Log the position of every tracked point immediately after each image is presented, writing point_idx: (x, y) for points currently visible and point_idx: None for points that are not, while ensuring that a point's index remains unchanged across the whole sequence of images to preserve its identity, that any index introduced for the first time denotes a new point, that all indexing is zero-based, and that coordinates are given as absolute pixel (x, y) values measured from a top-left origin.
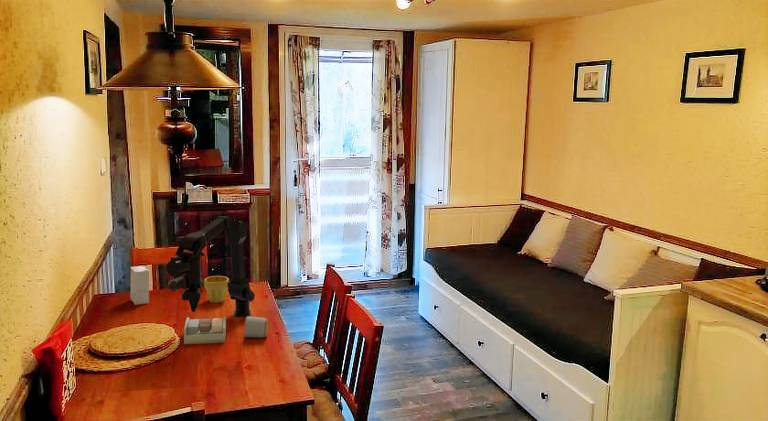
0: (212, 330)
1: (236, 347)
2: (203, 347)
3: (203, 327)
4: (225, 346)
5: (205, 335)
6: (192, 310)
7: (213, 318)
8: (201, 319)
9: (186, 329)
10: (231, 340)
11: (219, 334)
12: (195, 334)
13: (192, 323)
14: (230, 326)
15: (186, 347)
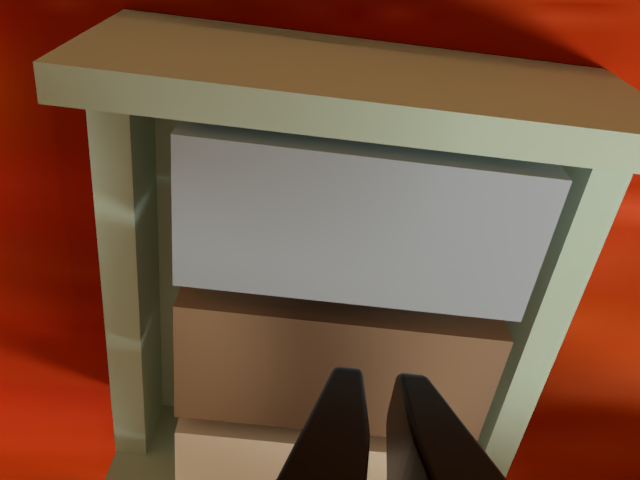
0: None
1: (18, 455)
2: (18, 221)
3: (176, 338)
4: (42, 392)
5: (107, 302)
6: (324, 401)
7: None
8: (488, 344)
9: (129, 104)
10: None
11: (116, 425)
12: (126, 200)
13: (341, 218)
14: (537, 464)
15: (18, 37)
